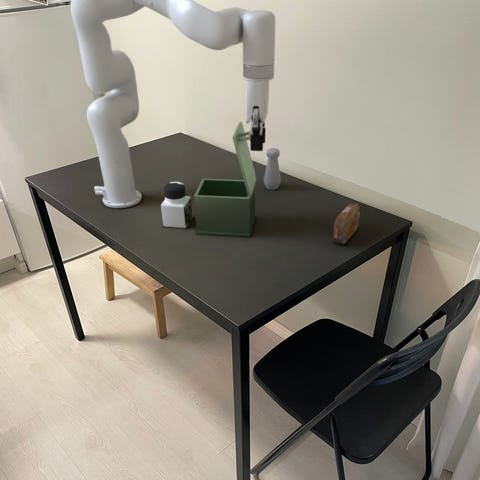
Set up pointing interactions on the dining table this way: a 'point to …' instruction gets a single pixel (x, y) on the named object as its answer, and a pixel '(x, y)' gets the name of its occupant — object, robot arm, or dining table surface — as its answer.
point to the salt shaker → (272, 170)
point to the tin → (347, 223)
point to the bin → (224, 208)
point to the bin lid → (244, 157)
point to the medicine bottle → (176, 206)
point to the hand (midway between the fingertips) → (257, 145)
